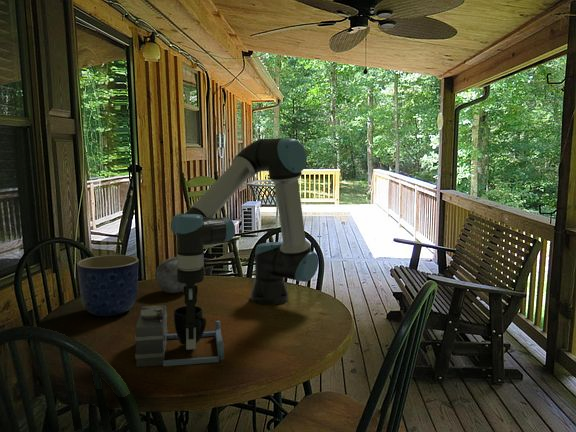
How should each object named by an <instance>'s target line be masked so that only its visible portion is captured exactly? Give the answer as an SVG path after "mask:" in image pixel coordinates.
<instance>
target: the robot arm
mask: <svg viewBox="0 0 576 432" xmlns="http://www.w3.org/2000/svg"><path fill="white" fill-rule="evenodd" d="M307 157H308V156H307V151H306V149H305V147H304V145H303V143H301V142H300V141H299V140H297V139H295V138H287V137H282V138H281V137H280V138H279V137H277V138H259V139H257V140H254V141H253V142H251V143H249V144H248V145H247V146H246V147H244V148H243V149H242V150H241V151H239V152H238V153H237V155H235V156H234V157H233V159H232V161H231V163H232V164H230V166H229V167H228V168H227V169H226V170H225V171H224V172H223V173H222V174H221V175H220V176H219V177H218V178H217V179H216V180H215V182H213V184H211V186H210V187H208V189H206V191H205V192H204V193H202V195H201V196H200V197H199V198H198V200H196V201H195V203H194V204H192V206H191V207H190V208H189V209H188V210H186V212H185V213H177V214H175V215H174V216H173V217H172V219H171V220H170V229H171V232H172V233H173V235H175V236H176V256H174V258H175V260H178V261H177V267H178V270H177V281H178V282H179V283H185V284H187V286H184V290H183V296H184V304H185V306H186V326H184V328H186V345H185V349H186V350H197V343H196V324H195V306H196V304H197V303H198V302H197V300H198V299H197V298H198V290H199V289H198V285H196V284H199V283H202V282H203V281H204V273H205V271H204V266H205V264H204V263H205V262H204V261H205V259H204V258H205V257H204V256H205V255H204V247H205V246H208V245H214V244H221V243H223V244H224V243H225V242H228V241H231V240H232V239H233V238H234V237H235V234H236V226H235V223H234V222H233V220H232V219H231V218H229V217H217V218H214V217H215V216H216V214H217V213H218V212H219V211H220V210H221V209H222V208H223V206H225V204H226V203H227V202H229V200H230V199H231V198H232V196H233V195H235V193H237V191H238V190H239V189H240V188H241V187H242V186H243V185H244V183H245V182H247V180H248V179H252V178H253V177H254V176H255V175H256V174H258V173H260V172H268V176H269V180H271V182H273V183H274V188H275V197H276V203H277V211H278V217H279V224H280V231H281V237H282V238H281V239H282V241H272V242H262V243H259V244H257V245H256V247H255V254H254V262H255V263H254V265H255V266H254V267H255V269H254V271H255V272H254V273H255V275H254V276H255V278H254V279H255V280H254V283H253V286H252V289H251V292H250V300H251V301H252V302H253V303H255V304H259V305H269V306H271V305H279V304H283V303H286V302H288V300H289V292H288V289H287V285H286V283H285V279H289V280H294V281H296V282H304V283H305V282H308V281H310V280H311V279H313V278H314V276H315V275H316V273H317V271H318V267H319V263H320V262H319V256H318V254H316V252H314V251H312V248H311V244H310V242H308V241H307V239H306V233H305V225H304V218H303V208H302V202H301V201H302V200H301V193H300V185H299V179H300V178H301V176H302V174H303V173H302V171H303V170H304V169H305V167H306V166H307V165H306V164H307V161H308V160H307ZM189 323H192V324H189Z"/></svg>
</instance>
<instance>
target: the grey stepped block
mask: <svg viewBox="0 0 576 432" xmlns="http://www.w3.org/2000/svg"><path fill="white" fill-rule="evenodd" d="M167 319H168V312H167V305H166V304H161V305H158V304H157V305H144V306H143V305H142V307H141V309H140V313H139V317H138V319H137V322H136V325H135V330H134V331H135V335H134V341H135V355H134V357H135V358H134V359H135V360H136V362H135V363H136V368H143V367H154V366H163V360H165V355H166V347H167V341H168V339H167V334H168V326H167Z"/></svg>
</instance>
